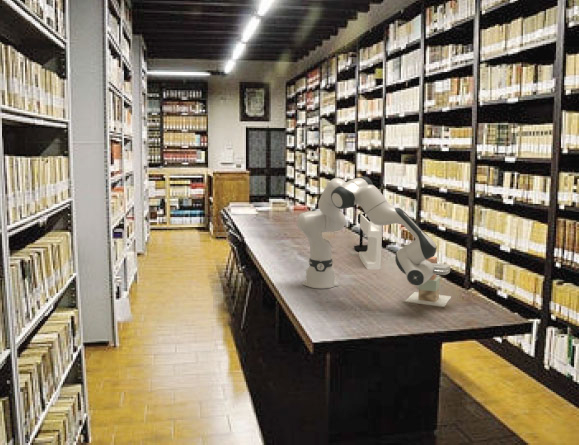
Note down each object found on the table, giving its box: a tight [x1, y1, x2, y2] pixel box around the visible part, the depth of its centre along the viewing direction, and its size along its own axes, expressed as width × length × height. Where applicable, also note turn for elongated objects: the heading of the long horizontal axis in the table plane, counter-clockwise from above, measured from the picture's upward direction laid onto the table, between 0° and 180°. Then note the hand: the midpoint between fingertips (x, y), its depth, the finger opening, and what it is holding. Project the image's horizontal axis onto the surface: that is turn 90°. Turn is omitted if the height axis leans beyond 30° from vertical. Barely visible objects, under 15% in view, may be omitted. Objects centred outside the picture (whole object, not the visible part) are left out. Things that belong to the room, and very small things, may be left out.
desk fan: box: [353, 212, 370, 252], centre depth 381 cm, size 27×18×35 cm, turn 1°
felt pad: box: [404, 291, 452, 308], centre depth 265 cm, size 18×18×1 cm
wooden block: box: [418, 288, 440, 302], centre depth 264 cm, size 8×8×5 cm
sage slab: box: [418, 276, 441, 292], centre depth 264 cm, size 8×8×5 cm
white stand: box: [358, 213, 383, 270], centre depth 341 cm, size 35×8×28 cm, turn 0°
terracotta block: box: [426, 256, 438, 280], centre depth 262 cm, size 5×5×10 cm
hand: (430, 264), depth 263 cm, fingers open, 8 cm apart
